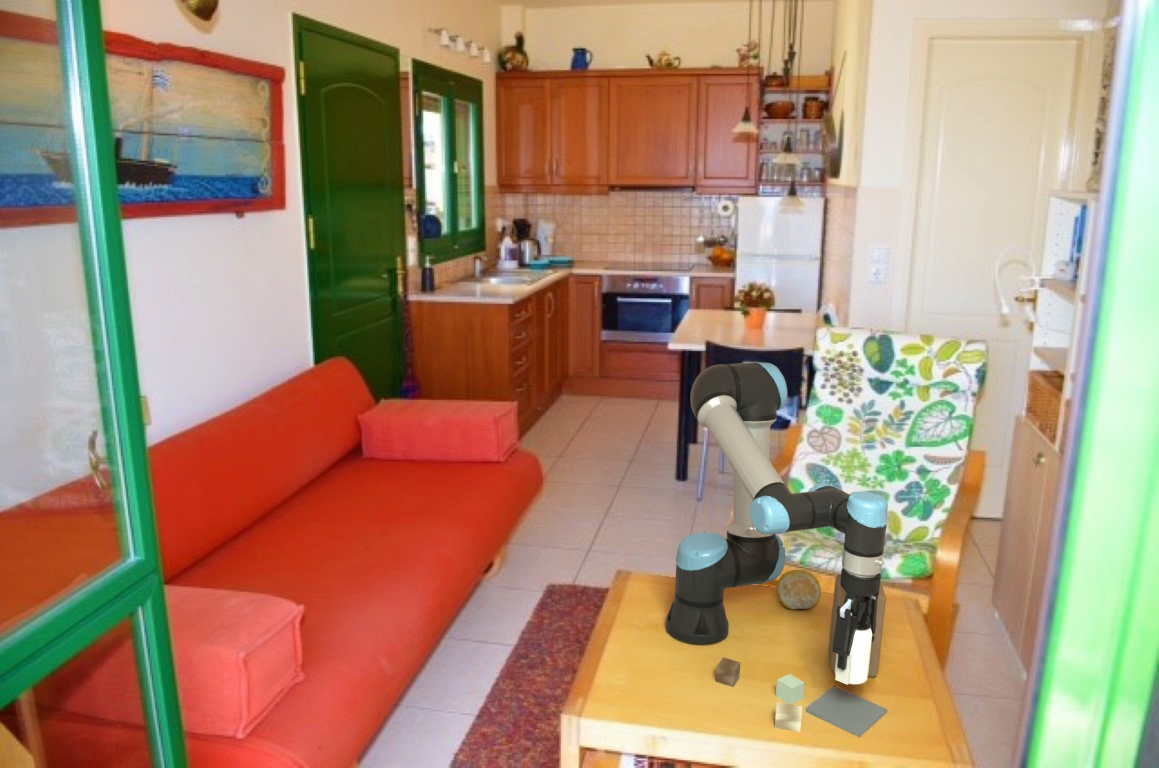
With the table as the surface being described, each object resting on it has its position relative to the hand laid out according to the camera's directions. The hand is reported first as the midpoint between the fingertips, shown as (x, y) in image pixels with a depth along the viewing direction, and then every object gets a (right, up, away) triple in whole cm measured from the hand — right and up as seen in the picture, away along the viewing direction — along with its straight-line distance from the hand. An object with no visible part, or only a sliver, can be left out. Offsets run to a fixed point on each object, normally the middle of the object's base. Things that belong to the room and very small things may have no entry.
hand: (850, 674), depth 180 cm
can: (0, -1, 0) cm, 1 cm away
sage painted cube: (-11, -7, +7) cm, 15 cm away
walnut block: (-23, -5, +13) cm, 27 cm away
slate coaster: (0, -8, +2) cm, 9 cm away
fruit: (0, +2, +46) cm, 46 cm away
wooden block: (+7, -5, +20) cm, 22 cm away
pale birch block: (-14, -9, -3) cm, 17 cm away
